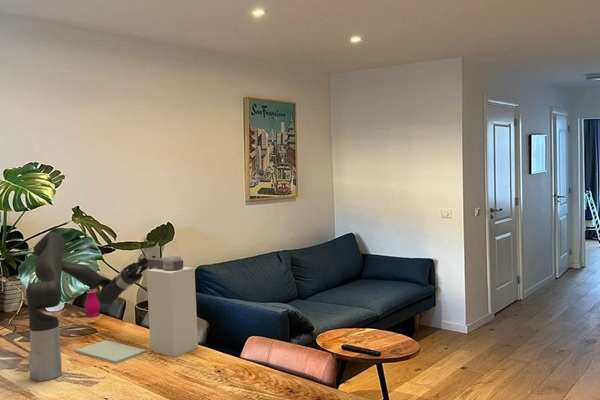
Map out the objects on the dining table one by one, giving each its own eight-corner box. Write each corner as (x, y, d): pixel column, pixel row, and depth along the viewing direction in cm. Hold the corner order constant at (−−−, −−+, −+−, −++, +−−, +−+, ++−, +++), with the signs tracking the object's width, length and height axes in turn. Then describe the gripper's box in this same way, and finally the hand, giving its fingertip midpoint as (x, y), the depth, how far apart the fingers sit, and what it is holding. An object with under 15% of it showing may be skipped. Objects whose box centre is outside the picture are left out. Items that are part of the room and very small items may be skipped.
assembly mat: (115, 363, 198) (115, 361, 198) (75, 352, 213) (75, 349, 213) (146, 352, 209) (146, 350, 209) (105, 342, 224) (105, 340, 224)
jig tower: (175, 357, 203) (170, 273, 201) (150, 351, 211) (146, 270, 209) (198, 347, 213) (194, 267, 211) (174, 342, 221) (170, 265, 219)
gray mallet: (172, 270, 204) (172, 259, 204) (135, 266, 217) (135, 256, 217) (186, 267, 210) (185, 257, 210) (149, 263, 223) (149, 253, 223)
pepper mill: (97, 317, 266) (94, 277, 265) (82, 317, 266) (80, 277, 265) (102, 313, 273) (100, 274, 272) (88, 314, 274) (86, 275, 273)
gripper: (110, 271, 221) (132, 252, 212) (139, 266, 232) (161, 247, 223) (117, 288, 219) (139, 269, 210) (145, 281, 231) (168, 264, 222)
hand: (150, 258), depth 217 cm, fingers closed on gray mallet, 4 cm apart
